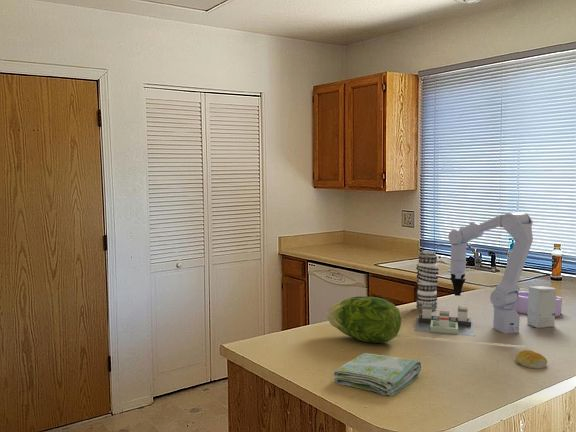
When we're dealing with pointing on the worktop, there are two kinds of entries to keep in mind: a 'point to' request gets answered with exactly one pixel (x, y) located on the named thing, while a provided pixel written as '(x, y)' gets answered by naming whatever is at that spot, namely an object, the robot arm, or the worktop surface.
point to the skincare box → (541, 306)
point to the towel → (378, 373)
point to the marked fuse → (444, 319)
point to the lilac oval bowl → (523, 304)
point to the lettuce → (366, 318)
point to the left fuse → (427, 311)
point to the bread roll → (531, 359)
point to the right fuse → (462, 313)
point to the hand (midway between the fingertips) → (457, 293)
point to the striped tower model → (427, 279)
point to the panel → (454, 327)
